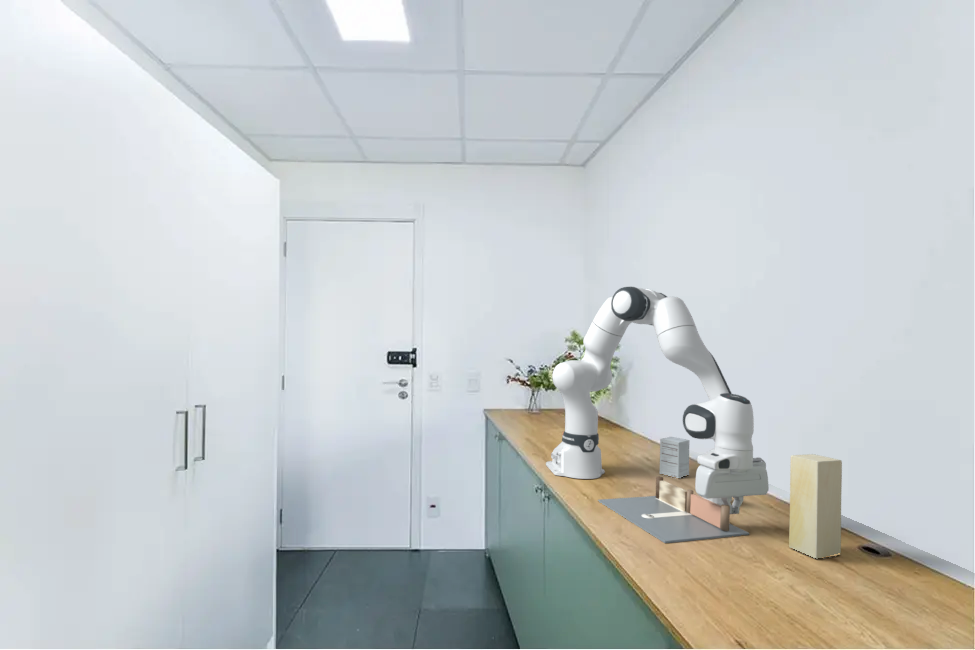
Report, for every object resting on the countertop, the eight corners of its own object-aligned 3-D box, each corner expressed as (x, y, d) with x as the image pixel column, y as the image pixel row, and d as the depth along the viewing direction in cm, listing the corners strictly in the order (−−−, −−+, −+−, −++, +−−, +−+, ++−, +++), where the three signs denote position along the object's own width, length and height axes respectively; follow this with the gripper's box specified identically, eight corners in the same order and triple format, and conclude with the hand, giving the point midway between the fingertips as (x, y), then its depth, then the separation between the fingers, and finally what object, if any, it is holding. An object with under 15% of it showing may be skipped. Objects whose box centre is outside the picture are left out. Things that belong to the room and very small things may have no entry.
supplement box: (670, 471, 180) (670, 436, 181) (689, 476, 175) (690, 439, 175) (658, 474, 176) (659, 438, 176) (678, 479, 170) (679, 442, 170)
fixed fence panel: (654, 497, 147) (654, 476, 147) (659, 496, 148) (660, 476, 148) (683, 511, 135) (684, 489, 135) (689, 511, 135) (690, 489, 136)
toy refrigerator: (809, 542, 118) (811, 452, 118) (841, 555, 111) (843, 460, 111) (785, 546, 115) (787, 454, 115) (816, 560, 108) (818, 462, 108)
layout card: (597, 501, 143) (598, 499, 143) (669, 496, 150) (669, 494, 150) (664, 543, 114) (665, 540, 114) (749, 534, 121) (749, 532, 121)
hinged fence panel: (684, 511, 134) (685, 489, 135) (690, 510, 135) (691, 489, 135) (724, 531, 121) (724, 507, 121) (731, 530, 121) (731, 506, 122)
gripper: (755, 454, 134) (754, 506, 133) (691, 456, 128) (690, 511, 127) (775, 460, 128) (774, 514, 127) (709, 463, 122) (708, 520, 121)
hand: (732, 513), depth 127 cm, fingers closed
